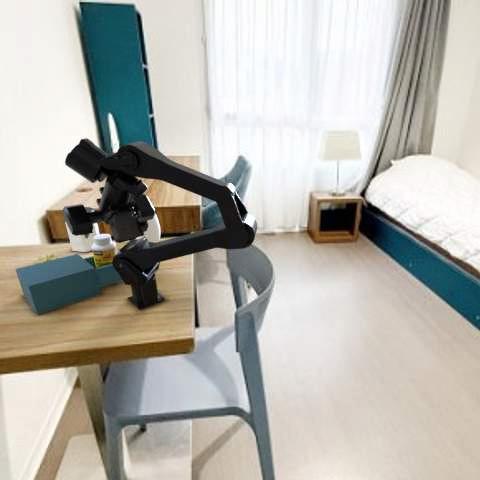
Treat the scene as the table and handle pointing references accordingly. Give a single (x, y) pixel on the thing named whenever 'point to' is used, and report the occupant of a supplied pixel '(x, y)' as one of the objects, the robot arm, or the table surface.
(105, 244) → the supplement bottle
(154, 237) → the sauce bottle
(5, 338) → the table surface
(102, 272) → the drawer
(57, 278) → the cabinet
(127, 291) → the table surface
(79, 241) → the jar
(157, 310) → the table surface
